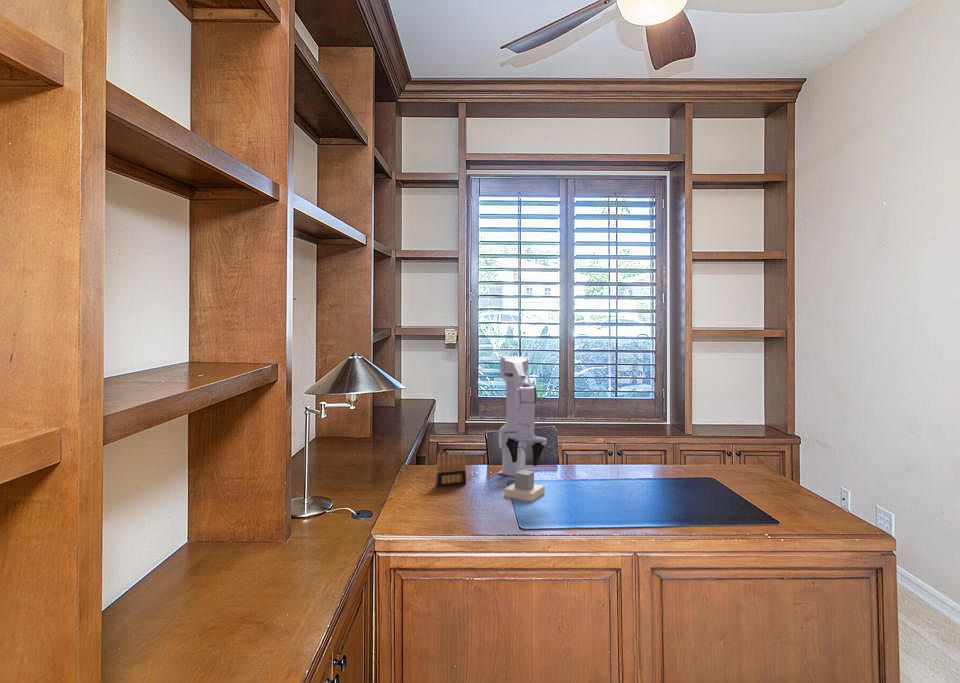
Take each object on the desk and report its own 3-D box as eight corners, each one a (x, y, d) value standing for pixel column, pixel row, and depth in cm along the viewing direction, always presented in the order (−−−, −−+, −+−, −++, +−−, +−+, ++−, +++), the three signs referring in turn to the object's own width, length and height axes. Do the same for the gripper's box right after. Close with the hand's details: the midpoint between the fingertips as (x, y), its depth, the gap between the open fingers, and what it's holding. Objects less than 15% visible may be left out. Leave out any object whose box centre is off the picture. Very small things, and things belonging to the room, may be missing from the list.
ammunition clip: (436, 487, 192) (437, 453, 192) (435, 486, 194) (435, 452, 193) (466, 484, 196) (466, 450, 196) (464, 483, 198) (464, 449, 197)
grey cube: (520, 484, 189) (521, 469, 189) (533, 486, 187) (534, 471, 187) (514, 487, 185) (514, 472, 185) (527, 490, 183) (528, 475, 182)
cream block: (517, 489, 193) (517, 481, 193) (544, 494, 188) (544, 485, 188) (504, 497, 184) (504, 488, 184) (531, 503, 179) (532, 493, 179)
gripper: (500, 422, 185) (500, 463, 186) (540, 427, 178) (540, 469, 179) (510, 419, 191) (509, 458, 192) (549, 423, 184) (548, 464, 185)
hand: (525, 463), depth 186 cm, fingers open, 7 cm apart
